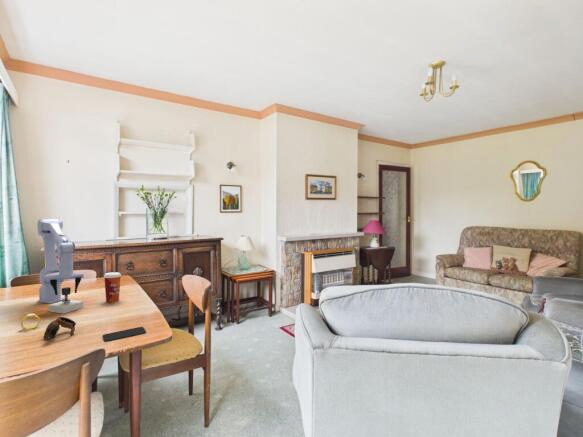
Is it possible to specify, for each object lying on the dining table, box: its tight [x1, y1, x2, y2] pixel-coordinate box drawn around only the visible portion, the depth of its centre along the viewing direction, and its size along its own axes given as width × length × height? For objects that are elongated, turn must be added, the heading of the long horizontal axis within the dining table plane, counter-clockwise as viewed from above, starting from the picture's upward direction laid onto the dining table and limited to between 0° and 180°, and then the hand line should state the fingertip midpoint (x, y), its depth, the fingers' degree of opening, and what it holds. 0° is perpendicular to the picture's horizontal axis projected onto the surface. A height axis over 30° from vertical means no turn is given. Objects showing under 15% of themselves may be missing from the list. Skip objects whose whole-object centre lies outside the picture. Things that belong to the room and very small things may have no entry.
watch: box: [20, 313, 41, 330], centre depth 128 cm, size 6×3×6 cm, turn 128°
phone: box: [102, 326, 147, 343], centre depth 124 cm, size 7×1×15 cm
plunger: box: [61, 286, 72, 303], centre depth 151 cm, size 4×4×7 cm
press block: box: [47, 298, 84, 314], centre depth 152 cm, size 10×10×3 cm
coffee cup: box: [103, 271, 122, 304], centre depth 166 cm, size 8×8×15 cm
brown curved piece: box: [43, 316, 77, 341], centre depth 121 cm, size 12×10×8 cm
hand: (66, 293), depth 151 cm, fingers open, 7 cm apart
